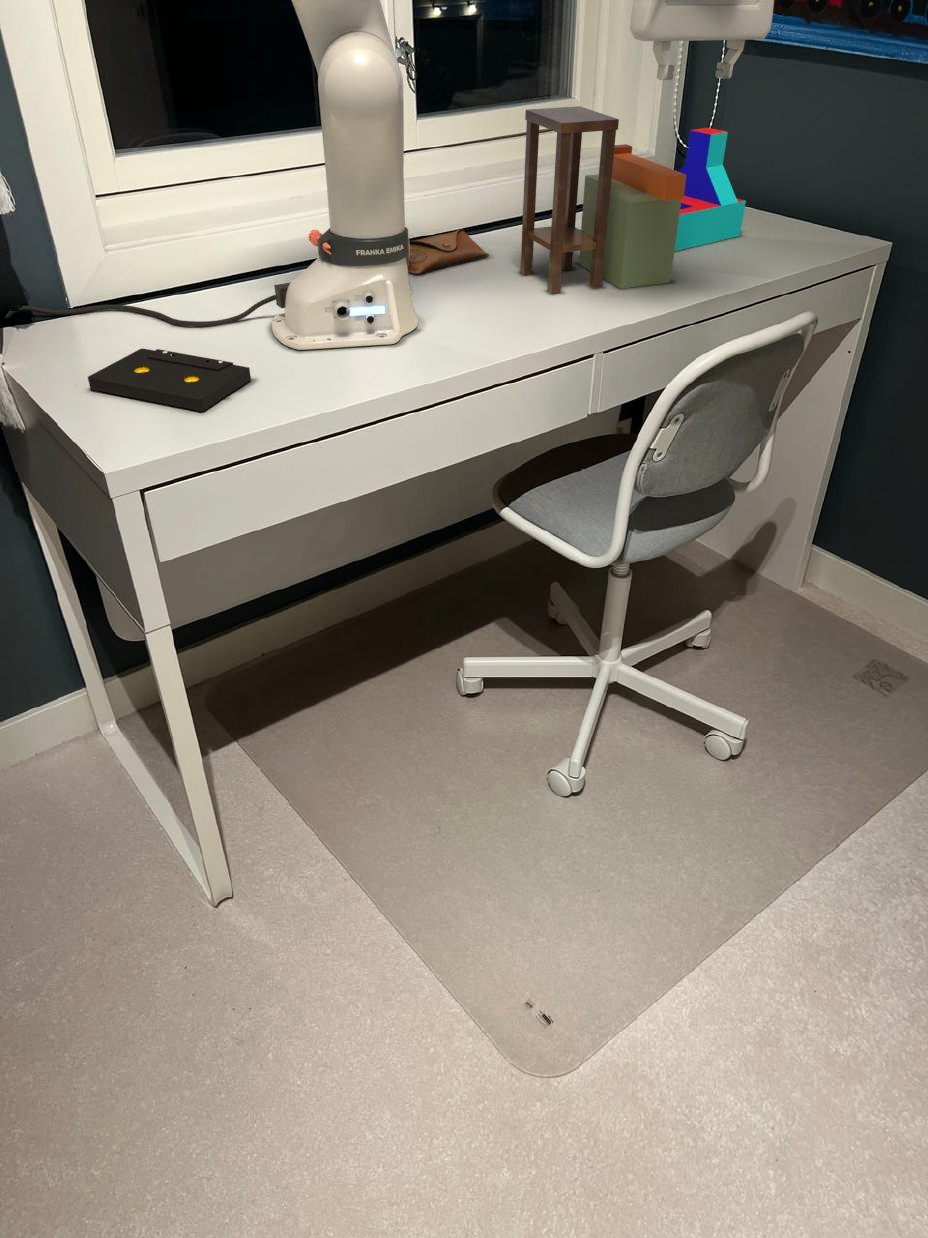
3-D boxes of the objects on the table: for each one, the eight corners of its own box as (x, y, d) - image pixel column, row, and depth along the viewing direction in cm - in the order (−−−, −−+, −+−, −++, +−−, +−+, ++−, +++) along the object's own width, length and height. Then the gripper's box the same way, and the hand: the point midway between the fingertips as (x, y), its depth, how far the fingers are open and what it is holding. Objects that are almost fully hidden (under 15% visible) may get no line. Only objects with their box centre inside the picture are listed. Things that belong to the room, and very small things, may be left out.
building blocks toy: (650, 209, 206) (661, 115, 195) (739, 235, 190) (757, 134, 179) (585, 222, 197) (593, 124, 186) (674, 251, 181) (688, 145, 170)
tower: (661, 200, 151) (665, 169, 148) (600, 174, 166) (603, 145, 163) (686, 198, 152) (690, 167, 150) (623, 172, 167) (626, 143, 165)
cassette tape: (252, 380, 130) (250, 365, 129) (202, 413, 121) (200, 397, 120) (144, 360, 135) (141, 346, 134) (89, 390, 127) (86, 375, 126)
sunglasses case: (419, 273, 167) (406, 235, 166) (398, 286, 173) (385, 249, 171) (493, 254, 177) (481, 218, 175) (470, 266, 183) (458, 231, 181)
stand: (551, 294, 160) (561, 122, 145) (518, 272, 170) (525, 109, 154) (603, 287, 163) (619, 118, 148) (568, 266, 173) (580, 105, 157)
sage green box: (620, 288, 163) (630, 195, 154) (578, 263, 174) (585, 175, 165) (670, 282, 166) (682, 190, 157) (625, 257, 177) (635, 170, 168)
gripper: (764, -45, 127) (743, 73, 135) (631, -48, 121) (618, 77, 129) (794, -43, 122) (770, 79, 131) (657, -45, 116) (642, 84, 124)
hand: (694, 78), depth 130 cm, fingers open, 8 cm apart
